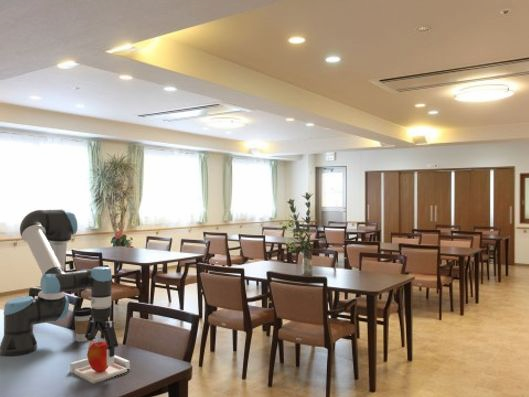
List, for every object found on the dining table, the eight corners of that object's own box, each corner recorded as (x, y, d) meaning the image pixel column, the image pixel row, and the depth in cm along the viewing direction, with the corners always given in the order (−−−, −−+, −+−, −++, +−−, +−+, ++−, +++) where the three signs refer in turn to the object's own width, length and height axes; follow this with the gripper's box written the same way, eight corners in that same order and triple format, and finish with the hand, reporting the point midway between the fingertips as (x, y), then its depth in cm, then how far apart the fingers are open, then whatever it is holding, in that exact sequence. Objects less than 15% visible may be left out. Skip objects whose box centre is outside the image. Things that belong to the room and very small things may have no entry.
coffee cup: (95, 339, 225) (96, 308, 225) (80, 343, 217) (80, 312, 217) (84, 336, 229) (85, 306, 229) (69, 340, 222) (70, 309, 222)
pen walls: (69, 371, 182) (69, 362, 182) (107, 360, 195) (108, 352, 195) (90, 382, 172) (90, 372, 172) (129, 369, 185) (129, 360, 185)
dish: (74, 374, 179) (74, 369, 179) (107, 364, 190) (107, 360, 190) (93, 383, 170) (93, 378, 170) (126, 372, 181) (126, 368, 181)
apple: (83, 373, 179) (81, 342, 179) (102, 365, 187) (101, 336, 187) (98, 377, 174) (96, 345, 174) (117, 369, 182) (116, 338, 182)
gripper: (76, 303, 186) (75, 355, 186) (110, 313, 170) (109, 371, 170) (93, 300, 191) (93, 351, 191) (127, 310, 175) (127, 365, 175)
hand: (100, 360), depth 180 cm, fingers open, 13 cm apart
